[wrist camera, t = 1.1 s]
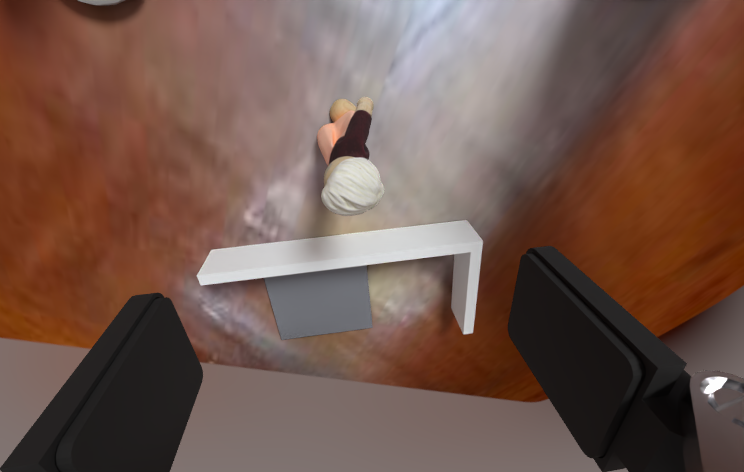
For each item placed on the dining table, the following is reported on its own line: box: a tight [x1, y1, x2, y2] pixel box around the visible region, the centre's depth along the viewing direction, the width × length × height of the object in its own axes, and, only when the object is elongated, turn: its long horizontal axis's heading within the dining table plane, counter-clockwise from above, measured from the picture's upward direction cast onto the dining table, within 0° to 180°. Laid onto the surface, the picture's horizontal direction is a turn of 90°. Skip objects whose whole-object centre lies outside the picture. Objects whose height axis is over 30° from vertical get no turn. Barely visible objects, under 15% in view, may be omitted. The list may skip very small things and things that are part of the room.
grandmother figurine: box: [317, 97, 384, 216], centre depth 22 cm, size 8×4×13 cm, turn 173°
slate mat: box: [264, 265, 372, 340], centre depth 35 cm, size 10×10×1 cm
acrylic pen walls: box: [197, 220, 483, 334], centre depth 33 cm, size 24×11×4 cm, turn 94°
